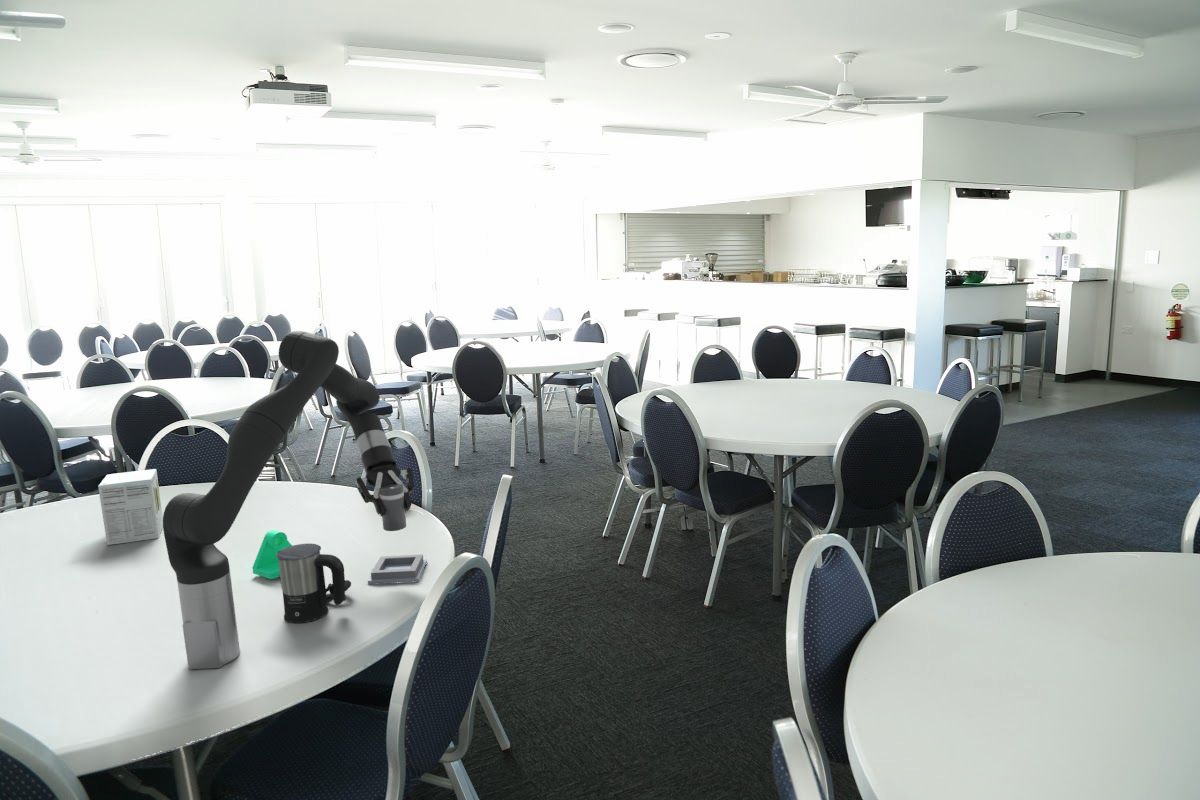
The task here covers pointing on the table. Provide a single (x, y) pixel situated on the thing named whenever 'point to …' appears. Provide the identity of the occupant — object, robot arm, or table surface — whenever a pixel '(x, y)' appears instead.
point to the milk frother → (309, 582)
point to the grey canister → (393, 507)
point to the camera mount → (270, 554)
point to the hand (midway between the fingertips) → (395, 511)
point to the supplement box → (131, 506)
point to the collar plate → (397, 569)
